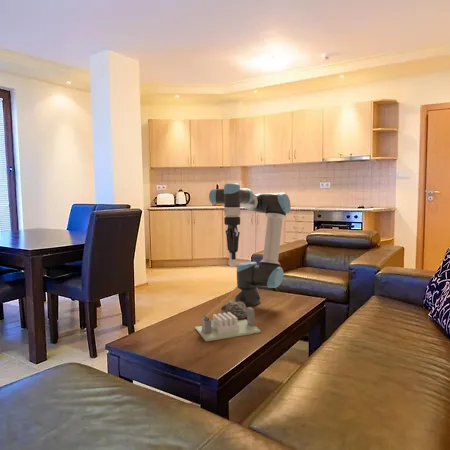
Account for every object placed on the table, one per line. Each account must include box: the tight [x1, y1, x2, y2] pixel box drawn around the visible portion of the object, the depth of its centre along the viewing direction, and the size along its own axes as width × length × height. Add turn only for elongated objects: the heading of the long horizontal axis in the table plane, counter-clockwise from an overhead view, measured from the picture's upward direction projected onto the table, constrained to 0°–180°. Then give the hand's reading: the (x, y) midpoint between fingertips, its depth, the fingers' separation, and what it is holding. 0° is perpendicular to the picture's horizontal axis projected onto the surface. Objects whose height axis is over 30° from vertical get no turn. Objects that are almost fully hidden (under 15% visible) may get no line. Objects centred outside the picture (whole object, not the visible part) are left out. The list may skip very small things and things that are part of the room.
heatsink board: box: [194, 306, 262, 342], centre depth 179 cm, size 17×26×9 cm, turn 110°
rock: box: [218, 300, 247, 320], centre depth 198 cm, size 16×8×10 cm, turn 60°
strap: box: [203, 286, 242, 321], centre depth 177 cm, size 21×5×1 cm
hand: (232, 266), depth 184 cm, fingers closed
